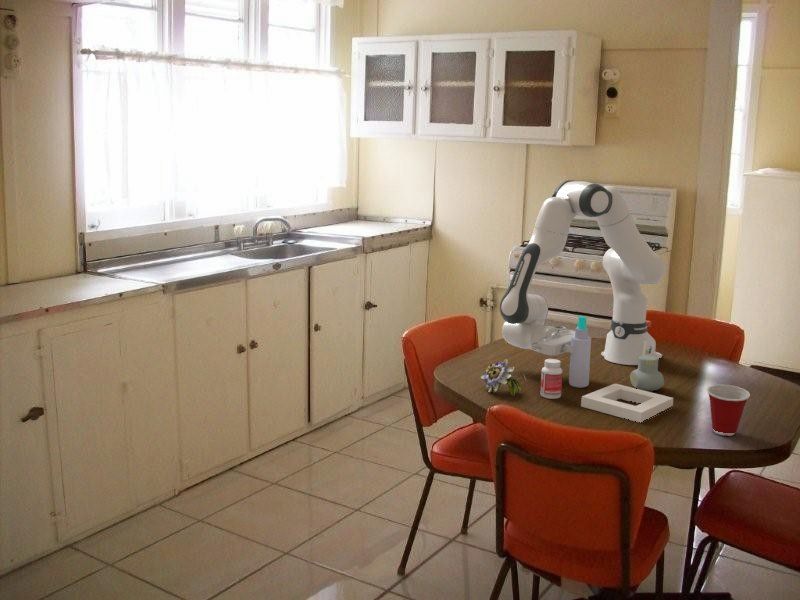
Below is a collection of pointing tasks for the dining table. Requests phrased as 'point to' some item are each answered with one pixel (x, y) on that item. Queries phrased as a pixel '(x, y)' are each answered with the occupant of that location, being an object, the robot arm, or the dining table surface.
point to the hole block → (607, 404)
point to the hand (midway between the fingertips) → (584, 348)
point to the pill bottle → (551, 379)
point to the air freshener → (647, 374)
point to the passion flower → (501, 377)
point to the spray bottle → (580, 355)
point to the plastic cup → (726, 406)
